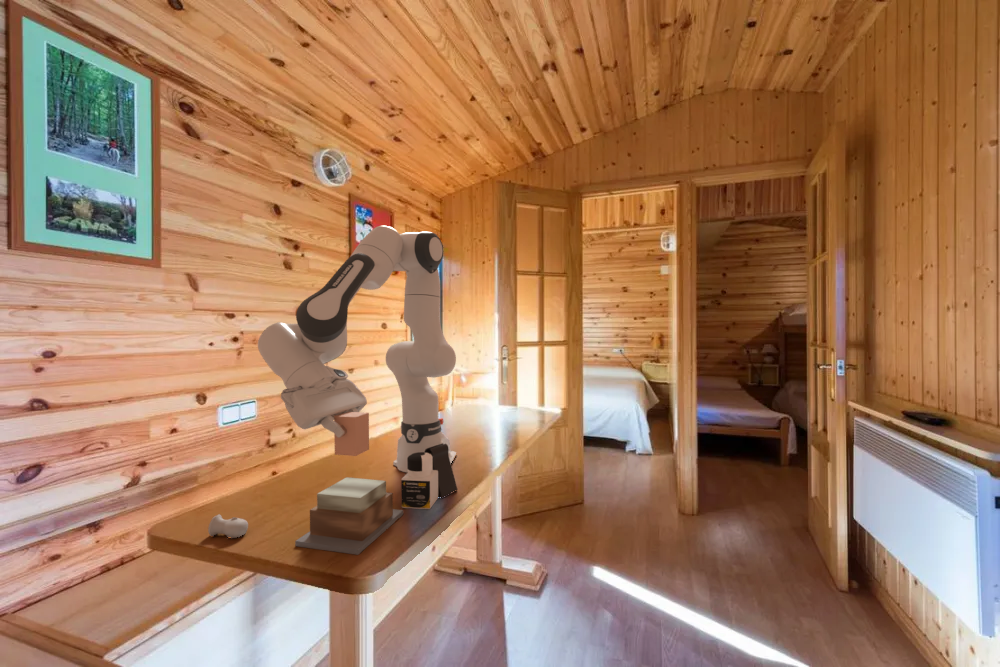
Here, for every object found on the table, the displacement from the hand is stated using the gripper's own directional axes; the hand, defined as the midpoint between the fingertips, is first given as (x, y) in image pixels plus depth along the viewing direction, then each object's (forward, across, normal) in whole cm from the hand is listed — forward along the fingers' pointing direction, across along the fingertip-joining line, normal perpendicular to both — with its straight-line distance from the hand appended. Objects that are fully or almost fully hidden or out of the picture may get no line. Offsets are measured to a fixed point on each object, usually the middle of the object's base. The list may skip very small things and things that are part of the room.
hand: (352, 431), depth 90 cm
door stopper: (+21, +24, +9) cm, 33 cm away
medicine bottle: (+20, +16, +9) cm, 28 cm away
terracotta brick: (+3, 0, +3) cm, 4 cm away
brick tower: (+15, 0, +15) cm, 21 cm away
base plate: (+15, 0, +15) cm, 21 cm away
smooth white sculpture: (-2, -8, +32) cm, 33 cm away
